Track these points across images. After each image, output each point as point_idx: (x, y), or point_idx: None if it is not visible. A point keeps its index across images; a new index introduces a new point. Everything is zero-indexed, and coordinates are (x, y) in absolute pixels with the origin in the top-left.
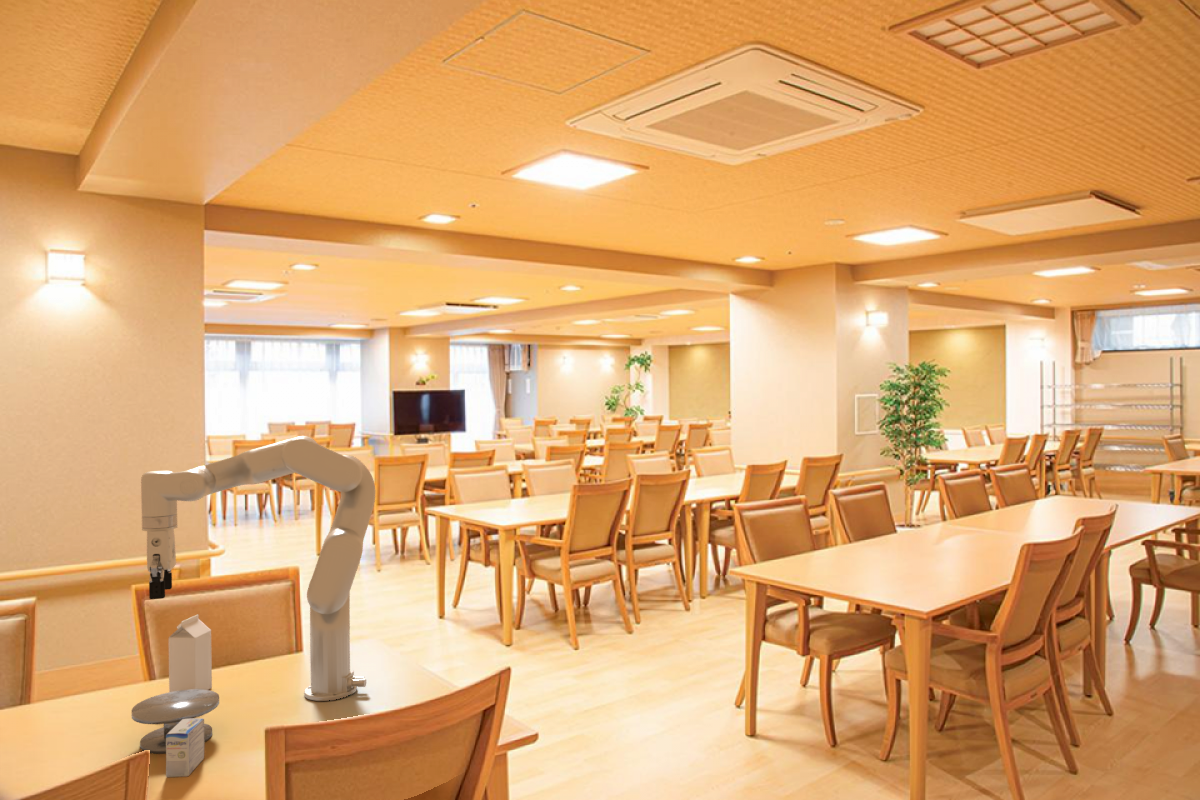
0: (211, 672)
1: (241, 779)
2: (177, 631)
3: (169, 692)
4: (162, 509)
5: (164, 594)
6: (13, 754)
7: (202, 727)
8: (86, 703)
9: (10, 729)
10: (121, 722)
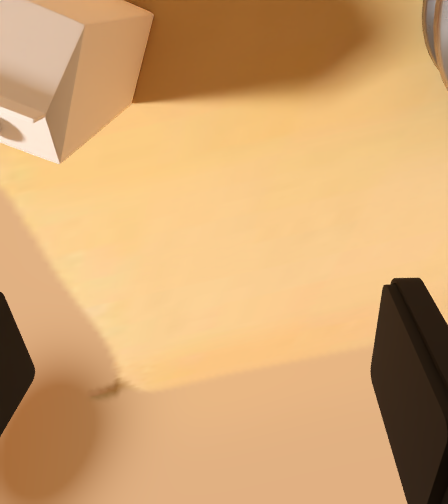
0: None
1: None
2: (34, 133)
3: (444, 52)
4: None
5: (431, 297)
6: None
7: None
8: (136, 286)
9: (253, 368)
10: (296, 184)
